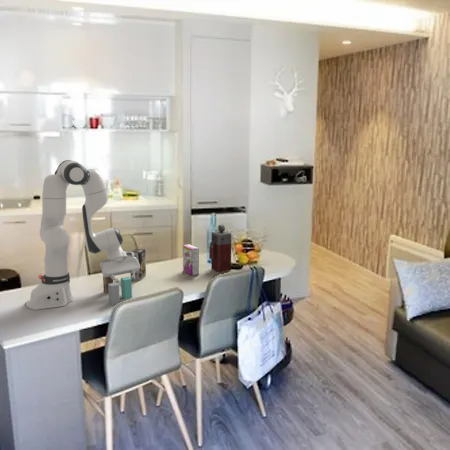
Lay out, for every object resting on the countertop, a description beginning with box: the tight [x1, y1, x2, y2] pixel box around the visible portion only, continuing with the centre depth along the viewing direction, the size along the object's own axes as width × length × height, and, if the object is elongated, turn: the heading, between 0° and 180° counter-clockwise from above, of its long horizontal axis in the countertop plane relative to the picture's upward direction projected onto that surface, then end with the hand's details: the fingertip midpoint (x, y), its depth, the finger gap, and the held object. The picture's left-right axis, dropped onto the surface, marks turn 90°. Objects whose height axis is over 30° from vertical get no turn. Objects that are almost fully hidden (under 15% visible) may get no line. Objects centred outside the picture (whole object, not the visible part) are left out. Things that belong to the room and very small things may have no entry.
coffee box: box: [130, 248, 147, 281], centre depth 296 cm, size 9×6×16 cm
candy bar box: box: [182, 243, 200, 277], centre depth 305 cm, size 11×5×16 cm, turn 34°
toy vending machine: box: [208, 224, 232, 273], centre depth 311 cm, size 9×11×28 cm
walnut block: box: [102, 275, 114, 295], centre depth 272 cm, size 4×4×10 cm
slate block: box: [108, 282, 121, 306], centre depth 256 cm, size 4×4×10 cm
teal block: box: [120, 276, 133, 300], centre depth 265 cm, size 4×4×10 cm
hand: (125, 280), depth 266 cm, fingers open, 8 cm apart
